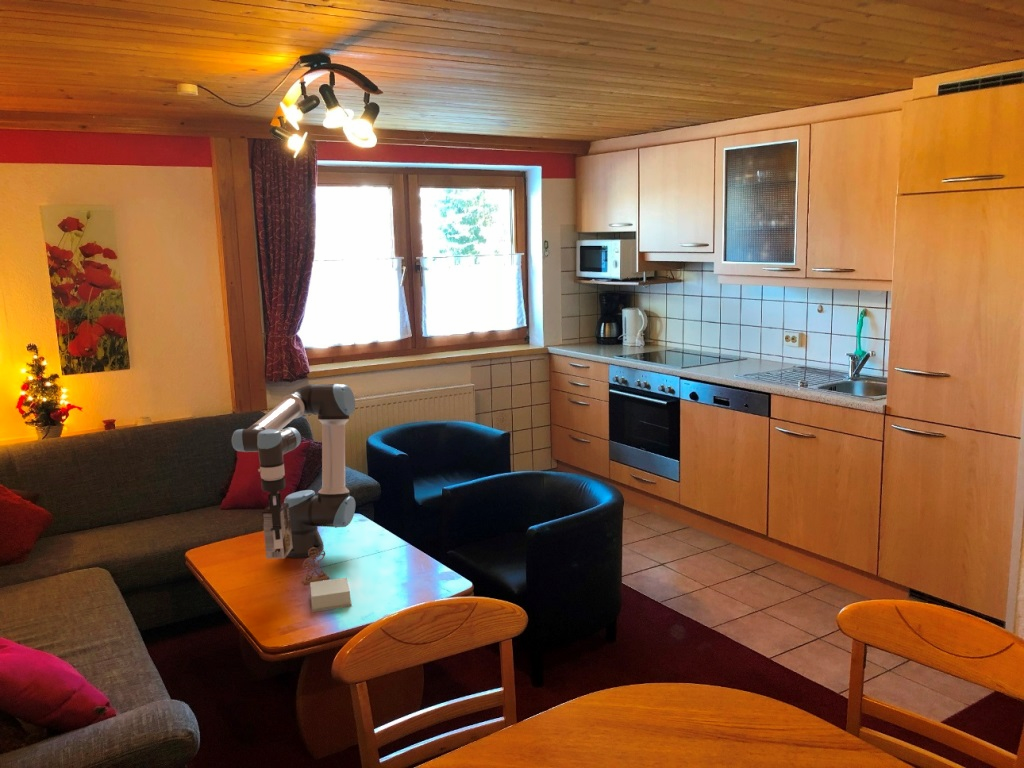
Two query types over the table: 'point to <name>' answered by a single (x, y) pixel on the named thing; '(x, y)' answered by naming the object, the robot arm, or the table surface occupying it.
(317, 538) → the robot arm
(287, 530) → the coffee box
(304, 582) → the gingerbread man figurine
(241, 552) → the table surface
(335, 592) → the pedestal
